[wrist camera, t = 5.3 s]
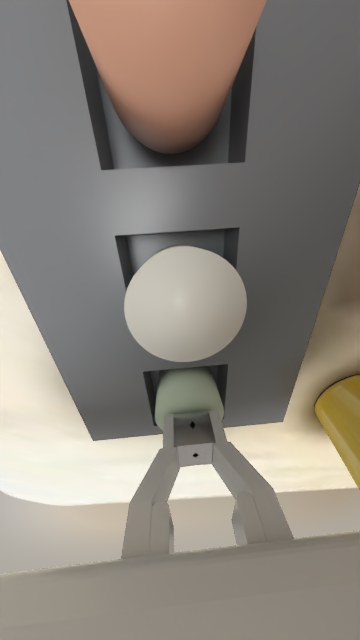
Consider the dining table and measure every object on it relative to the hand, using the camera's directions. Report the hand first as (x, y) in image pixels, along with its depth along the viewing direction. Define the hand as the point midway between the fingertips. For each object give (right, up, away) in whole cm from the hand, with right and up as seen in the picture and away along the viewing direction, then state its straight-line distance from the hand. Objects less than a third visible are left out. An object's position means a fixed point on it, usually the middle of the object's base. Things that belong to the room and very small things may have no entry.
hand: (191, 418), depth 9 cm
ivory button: (-1, +7, -1) cm, 7 cm away
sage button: (0, +1, +3) cm, 3 cm away
